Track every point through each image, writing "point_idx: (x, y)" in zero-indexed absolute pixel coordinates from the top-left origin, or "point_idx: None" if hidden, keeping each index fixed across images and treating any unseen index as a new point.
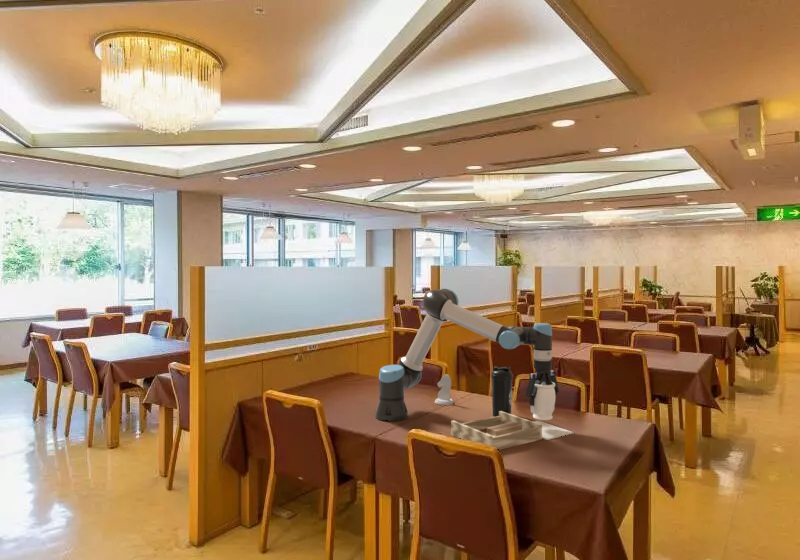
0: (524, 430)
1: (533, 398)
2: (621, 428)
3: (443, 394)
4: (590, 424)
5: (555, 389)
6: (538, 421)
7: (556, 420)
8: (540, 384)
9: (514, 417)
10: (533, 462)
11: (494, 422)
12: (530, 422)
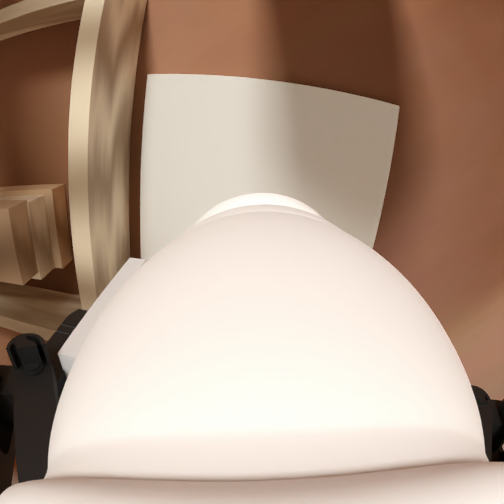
0: (11, 325)
1: None
2: (489, 388)
3: None
4: (496, 315)
5: (498, 441)
6: (384, 120)
7: (481, 177)
8: (482, 450)
9: (72, 135)
10: None
11: (69, 12)
12: (81, 296)
